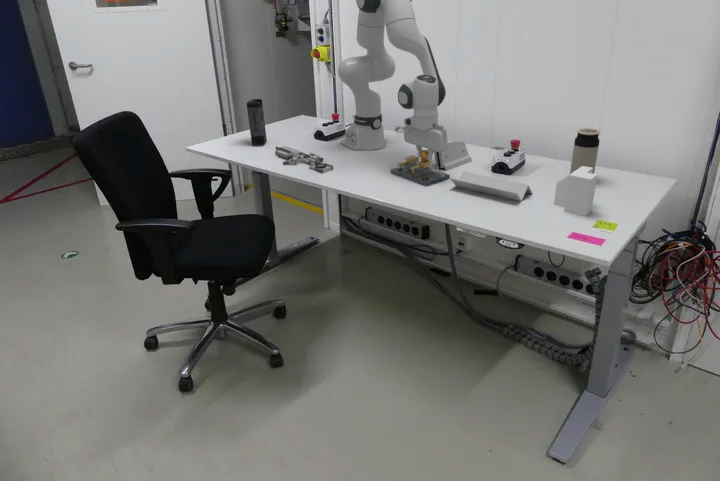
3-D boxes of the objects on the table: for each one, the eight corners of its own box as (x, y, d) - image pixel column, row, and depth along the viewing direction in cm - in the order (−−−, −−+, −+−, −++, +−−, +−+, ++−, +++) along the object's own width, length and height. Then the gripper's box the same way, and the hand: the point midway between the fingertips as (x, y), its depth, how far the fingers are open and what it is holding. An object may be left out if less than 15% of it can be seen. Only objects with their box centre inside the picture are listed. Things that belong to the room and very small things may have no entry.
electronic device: (264, 146, 244) (258, 102, 235) (251, 146, 244) (245, 103, 235) (267, 140, 252) (262, 98, 243) (255, 141, 252) (249, 99, 243)
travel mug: (594, 184, 184) (603, 133, 176) (571, 183, 186) (578, 133, 177) (590, 176, 191) (598, 127, 183) (567, 176, 193) (574, 127, 184)
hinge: (445, 171, 203) (439, 146, 201) (437, 172, 206) (431, 147, 204) (472, 161, 212) (467, 136, 210) (463, 162, 216) (458, 138, 214)
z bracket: (461, 193, 193) (468, 179, 194) (525, 209, 178) (532, 193, 179) (450, 178, 183) (457, 163, 184) (516, 193, 168) (524, 176, 169)
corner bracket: (584, 216, 161) (591, 179, 155) (549, 207, 168) (554, 172, 162) (597, 205, 168) (604, 169, 162) (563, 197, 175) (567, 163, 169)
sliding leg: (409, 173, 197) (409, 153, 194) (425, 167, 201) (426, 149, 198) (414, 174, 195) (415, 155, 191) (431, 169, 199) (431, 150, 196)
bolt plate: (390, 173, 203) (390, 160, 201) (413, 166, 209) (413, 153, 207) (426, 186, 189) (426, 172, 186) (449, 178, 195) (450, 165, 193)
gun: (256, 150, 230) (284, 142, 239) (257, 156, 232) (285, 148, 240) (313, 171, 203) (342, 161, 211) (314, 178, 204) (343, 167, 212)
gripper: (452, 125, 185) (451, 162, 191) (413, 115, 200) (413, 150, 206) (439, 128, 182) (438, 166, 188) (401, 118, 197) (401, 154, 203)
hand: (425, 158), depth 197 cm, fingers closed on sliding leg, 3 cm apart
